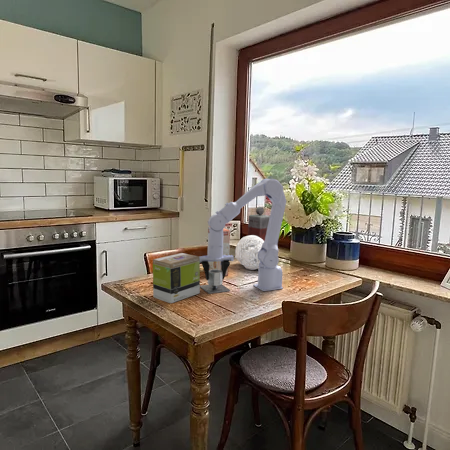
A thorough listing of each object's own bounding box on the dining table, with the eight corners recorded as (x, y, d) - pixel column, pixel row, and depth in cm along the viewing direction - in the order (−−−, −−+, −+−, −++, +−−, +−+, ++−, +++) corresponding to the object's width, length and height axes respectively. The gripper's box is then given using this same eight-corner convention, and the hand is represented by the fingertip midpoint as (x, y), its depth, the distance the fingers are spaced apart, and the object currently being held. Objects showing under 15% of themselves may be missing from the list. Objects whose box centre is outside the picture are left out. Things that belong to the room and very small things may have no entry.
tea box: (181, 288, 143) (182, 251, 141) (200, 294, 137) (201, 256, 135) (152, 297, 132) (152, 258, 129) (170, 304, 125) (171, 263, 123)
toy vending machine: (254, 253, 210) (256, 205, 206) (269, 257, 202) (271, 207, 198) (243, 255, 204) (245, 206, 200) (258, 259, 196) (261, 208, 192)
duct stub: (220, 284, 149) (220, 271, 148) (229, 291, 141) (230, 277, 140) (199, 286, 145) (200, 273, 144) (208, 293, 137) (209, 279, 136)
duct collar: (206, 281, 145) (206, 269, 144) (219, 280, 146) (220, 269, 145) (209, 286, 139) (209, 273, 139) (223, 285, 141) (223, 272, 140)
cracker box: (229, 275, 162) (230, 230, 159) (216, 276, 160) (218, 230, 157) (218, 268, 175) (219, 225, 172) (206, 268, 173) (207, 225, 170)
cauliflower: (223, 247, 181) (245, 224, 178) (245, 259, 192) (266, 237, 189) (240, 273, 166) (264, 248, 163) (262, 285, 178) (285, 261, 174)
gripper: (200, 248, 135) (199, 283, 137) (236, 247, 139) (235, 281, 141) (196, 244, 141) (195, 278, 143) (231, 243, 146) (230, 276, 148)
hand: (214, 279), depth 143 cm, fingers closed on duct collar, 6 cm apart
